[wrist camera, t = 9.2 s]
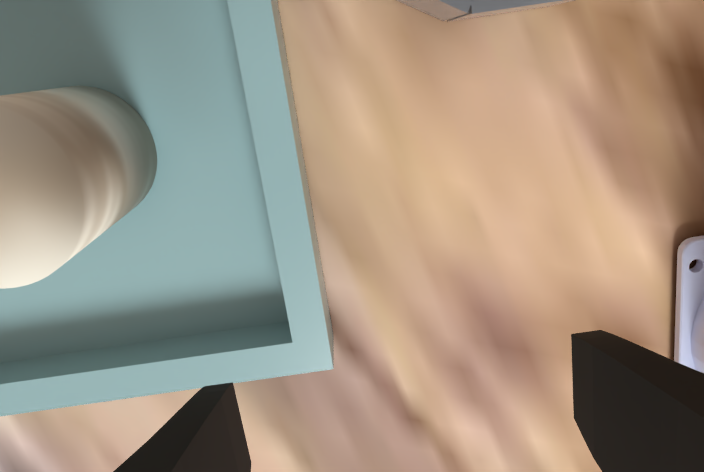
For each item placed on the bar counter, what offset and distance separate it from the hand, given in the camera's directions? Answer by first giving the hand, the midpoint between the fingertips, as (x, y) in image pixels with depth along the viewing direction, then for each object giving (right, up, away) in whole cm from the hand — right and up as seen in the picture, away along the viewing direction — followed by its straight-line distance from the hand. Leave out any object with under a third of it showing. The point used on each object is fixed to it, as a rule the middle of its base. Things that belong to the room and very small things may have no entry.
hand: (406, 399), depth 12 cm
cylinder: (-10, +6, +7) cm, 13 cm away
